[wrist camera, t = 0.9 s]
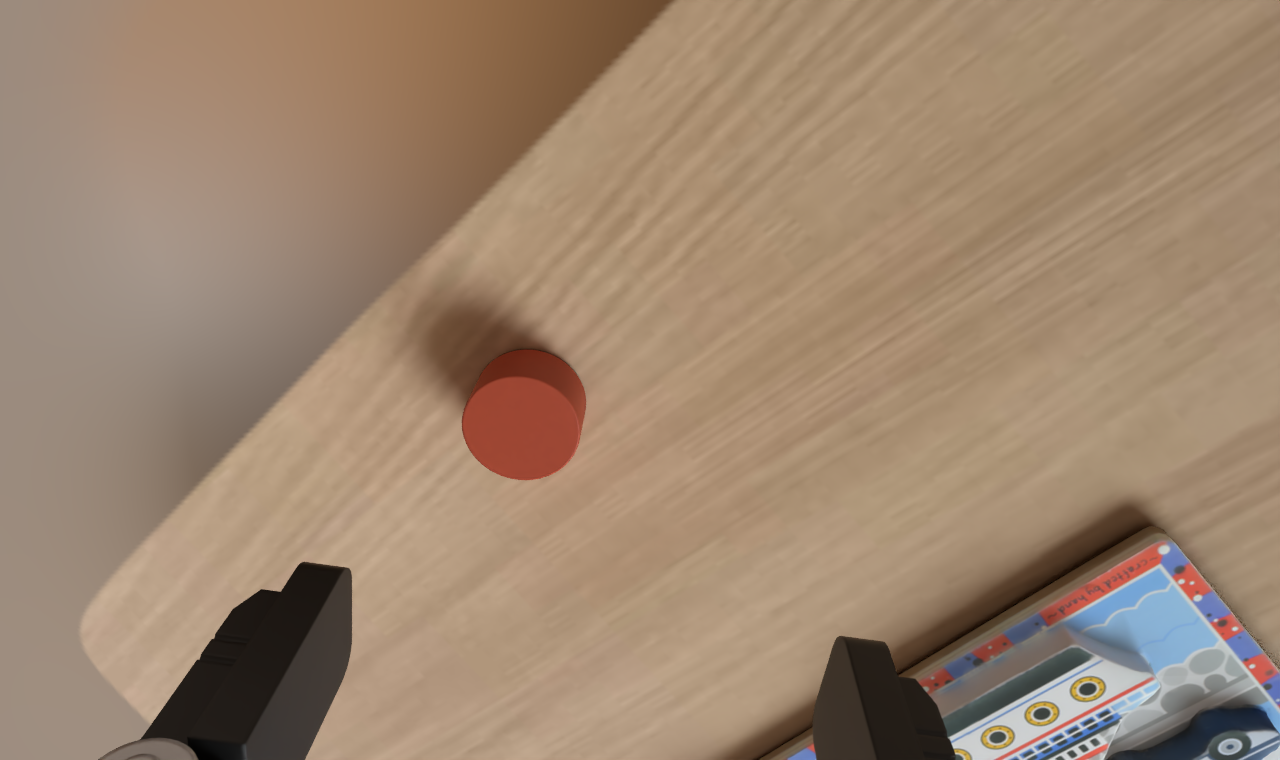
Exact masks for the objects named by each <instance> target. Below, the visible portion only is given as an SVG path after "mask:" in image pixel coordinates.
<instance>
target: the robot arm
mask: <svg viewBox="0 0 1280 760" xmlns="http://www.w3.org/2000/svg"><path fill="white" fill-rule="evenodd" d="M351 645H352V575H351V571H350V569H349V568H345V567H338V566H331V565H323V564H316V563H308V562H302V563H300V564H299V565H298V567H297V568H296V569H295V571H294V572H293V574H292V576H291V577H290V579H289V580H288V582H287V583H286V585H285V586H284V588H283V589H282V591H281V592H278V591H270V590H263V589H261V590H260V591H258V592H257V593H255V594H254V595H253V596H251V597H250V598H248V599H247V600H245V601H244V602H243V603H241V604H240V605H238V606H237V607H235V608H234V609H233V610H232V611H231V613H230V614H229V616H228V617H227V618H226V620H225V621H224V623H223V624H222V625H221V627H220V628H219V630H218V631H217V632H216V634H215V638H214V639H212V640H211V641H210V642H209V644H208V645H207V647H206V648H205V649H204V651H203V652H202V654H201V657H200V660H197V661H196V662H195V664H194V665H193V666H192V668H191V669H190V671H189V672H188V673H187V675H186V676H185V678H184V679H183V681H182V682H181V683H180V685H179V686H178V688H177V689H176V690H175V692H174V693H173V695H172V696H171V697H170V699H169V700H168V702H167V703H166V705H165V706H164V707H163V709H162V710H161V712H160V713H159V714H158V716H157V717H156V719H155V720H154V721H153V723H152V724H151V726H150V727H149V729H148V730H147V731H146V733H145V734H144V736H143V737H142V738H141V739H140V740H138V741H134V742H131V743H128V744H125V745H123V746H120V747H118V748H116V749H114V750H112V751H110V752H109V753H107V754H106V755H104V756H103V757H101V758H100V759H98V760H305V758H306V756H307V754H308V752H309V750H310V748H311V746H312V743H313V741H314V739H315V737H316V735H317V733H318V731H319V729H320V727H321V725H322V722H323V720H324V718H325V716H326V714H327V712H328V710H329V708H330V706H331V704H332V701H333V699H334V697H335V695H336V693H337V691H338V689H339V687H340V685H341V683H342V680H343V678H344V675H345V672H346V669H347V666H348V662H349V658H350V652H351ZM813 743H814V749H815V754H816V760H956V754H955V752H954V749H953V746H952V744H951V741H950V738H947V730H946V728H945V725H944V722H943V719H942V717H941V714H940V711H939V709H938V706H937V704H936V703H935V702H934V701H933V699H932V698H931V697H930V696H929V695H928V693H927V692H926V691H925V690H924V688H923V687H922V686H921V685H920V684H919V682H918V681H917V680H916V679H914V678H907V677H899V676H898V675H897V672H896V669H895V666H894V663H893V660H892V657H891V654H890V651H889V648H888V646H887V645H886V643H885V642H881V641H874V640H866V639H859V638H852V637H844V636H839V637H837V639H836V640H835V642H834V645H833V648H832V651H831V655H830V658H829V661H828V664H827V668H826V671H825V674H824V677H823V680H822V684H821V687H820V690H819V693H818V697H817V700H816V704H815V708H814V714H813Z"/></svg>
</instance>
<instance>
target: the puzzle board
mask: <svg viewBox="0 0 1280 760" xmlns="http://www.w3.org/2000/svg"><path fill="white" fill-rule="evenodd" d="M898 676H899V677H907V678H914V679H916V680H917V681H918V682H919V684H920V685H921V686H922V687H923V688H924V690H925V691H926V692H927V693H928V695H929V696H930V697H931V698H932V699H933V701H934V702H935V703H936V704H937V706H938V709H939V711H940V714H941V717H942V719H943V722H944V725H945V728H946V730H947V738H950V741H951V744H952V746H953V749H954V752H955V754H956V760H1280V670H1279V669H1278V668H1277V667H1276V666H1275V664H1274V663H1273V661H1272V660H1271V659H1270V658H1269V657H1268V656H1267V654H1266V653H1265V652H1264V651H1263V649H1262V648H1261V647H1260V646H1259V644H1258V643H1257V642H1256V641H1255V640H1254V638H1253V637H1252V636H1251V635H1250V634H1249V632H1248V631H1247V630H1246V629H1245V628H1244V626H1243V625H1242V624H1241V622H1240V621H1239V620H1238V619H1237V617H1236V616H1235V615H1234V614H1233V612H1232V611H1231V610H1230V609H1229V607H1228V606H1227V605H1226V604H1225V603H1224V601H1223V600H1222V599H1221V598H1220V597H1219V595H1218V594H1217V593H1216V592H1215V591H1214V590H1213V588H1212V587H1211V586H1210V585H1209V584H1208V582H1207V581H1206V580H1205V579H1204V578H1203V576H1202V575H1201V574H1200V573H1199V571H1198V570H1197V569H1196V568H1195V566H1194V565H1193V564H1192V563H1191V561H1190V560H1189V559H1188V558H1187V557H1186V556H1185V554H1184V553H1183V552H1182V551H1181V549H1180V548H1179V547H1178V546H1177V544H1176V543H1175V542H1174V541H1173V540H1172V539H1170V538H1169V536H1168V535H1167V534H1166V532H1165V531H1164V530H1162V529H1161V528H1158V527H1151V526H1150V527H1147V528H1144V529H1143V530H1141V531H1139V532H1138V533H1136V534H1134V535H1132V536H1131V537H1129V538H1127V539H1126V540H1124V541H1122V542H1120V543H1119V544H1117V545H1115V546H1114V547H1112V548H1110V549H1108V550H1107V551H1105V552H1103V553H1102V554H1100V555H1098V556H1097V557H1095V558H1093V559H1092V560H1090V561H1088V562H1087V563H1085V564H1083V565H1082V566H1080V567H1078V568H1077V569H1075V570H1073V571H1072V572H1070V573H1068V574H1067V575H1065V576H1063V577H1062V578H1060V579H1058V580H1057V581H1055V582H1053V583H1052V584H1050V585H1048V586H1047V587H1045V588H1043V589H1042V590H1040V591H1038V592H1037V593H1035V594H1033V595H1032V596H1030V597H1028V598H1027V599H1025V600H1023V601H1022V602H1020V603H1018V604H1017V605H1015V606H1013V607H1012V608H1010V609H1008V610H1007V611H1005V612H1003V613H1002V614H1000V615H998V616H997V617H995V618H993V619H992V620H990V621H988V622H987V623H985V624H983V625H982V626H980V627H978V628H977V629H975V630H973V631H972V632H970V633H968V634H967V635H965V636H963V637H962V638H960V639H958V640H957V641H955V642H953V643H952V644H950V645H948V646H947V647H945V648H943V649H942V650H940V651H938V652H937V653H935V654H933V655H932V656H930V657H928V658H927V659H925V660H923V661H922V662H920V663H918V664H917V665H915V666H913V667H912V668H910V669H908V670H907V671H905V672H903V673H902V674H900V675H898ZM759 760H816V754H815V749H814V743H813V727H812V728H810V729H809V730H807V731H805V732H804V733H802V734H800V735H799V736H797V737H795V738H794V739H792V740H790V741H789V742H787V743H785V744H784V745H782V746H780V747H779V748H777V749H776V750H774V751H772V752H771V753H769V754H767V755H766V756H764V757H762V758H761V759H759Z"/></svg>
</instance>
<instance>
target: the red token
mask: <svg viewBox="0 0 1280 760" xmlns="http://www.w3.org/2000/svg"><path fill="white" fill-rule="evenodd" d="M585 410H586V396H585V391H584V388H583V385H582V383H581V381H580V379H579V377H578V376H577V374H576V373H575V372H574V371H573V369H572V368H571V367H570V366H568V365H567V364H566V363H565V362H564V361H562V360H561V359H559V358H557V357H556V356H553V355H551V354H549V353H546V352H542V351H538V350H527V349H526V350H516V351H511V352H508V353H505V354H503V355H501V356H499V357H497V358H496V359H494V360H493V361H492V362H491V363H490V364H488V365H487V367H486V368H485V369H484V370H483V372H482V374H481V375H480V377H479V379H478V381H477V383H476V385H475V387H474V389H473V391H472V393H471V395H470V397H469V399H468V401H467V404H466V406H465V408H464V412H463V416H462V431H463V435H464V439H465V441H466V444H467V446H468V448H469V450H470V451H471V453H472V454H473V455H474V457H475V458H476V459H477V460H478V461H479V462H480V463H481V464H482V465H484V466H485V467H486V468H488V469H489V470H491V471H493V472H495V473H496V474H499V475H501V476H504V477H507V478H511V479H517V480H534V479H539V478H543V477H546V476H549V475H551V474H553V473H555V472H557V471H558V470H560V469H561V468H562V467H564V466H565V465H566V464H567V463H568V462H569V461H570V460H571V458H572V457H573V455H574V453H575V451H576V449H577V447H578V444H579V440H580V435H581V430H582V425H583V420H584V415H585Z"/></svg>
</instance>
